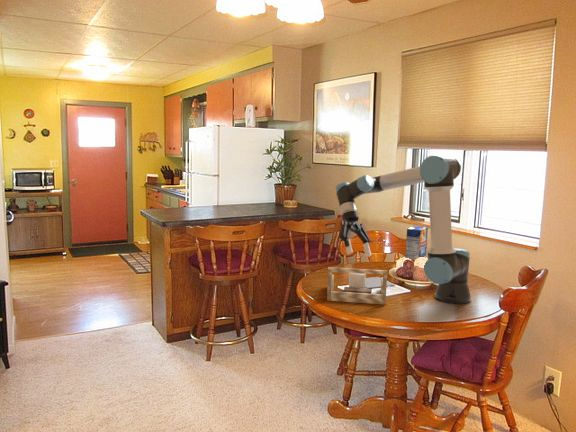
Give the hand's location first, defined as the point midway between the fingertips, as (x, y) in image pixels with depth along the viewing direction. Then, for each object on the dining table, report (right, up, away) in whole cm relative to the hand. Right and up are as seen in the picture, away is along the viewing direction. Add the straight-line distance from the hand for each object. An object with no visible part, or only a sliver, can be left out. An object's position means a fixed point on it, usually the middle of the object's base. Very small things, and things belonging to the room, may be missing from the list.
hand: (359, 254), depth 219 cm
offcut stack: (-3, -19, -7) cm, 21 cm away
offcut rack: (-2, -18, -2) cm, 18 cm away
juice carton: (+37, -13, +42) cm, 57 cm away
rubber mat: (+9, -15, +18) cm, 25 cm away
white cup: (-1, -18, +1) cm, 18 cm away
